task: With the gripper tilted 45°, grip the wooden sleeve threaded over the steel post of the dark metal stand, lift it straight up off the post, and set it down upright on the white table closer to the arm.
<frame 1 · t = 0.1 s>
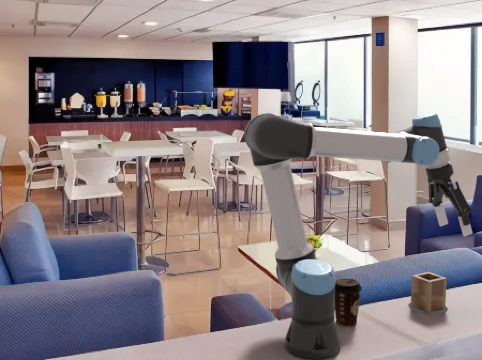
hand: (455, 229, 182), 28 cm above the worktop, tool tilted 20°, fingers open, 13 cm apart
coffee cup: (346, 323, 182), on the worktop
sleeve: (427, 307, 190), point 1 cm above the worktop, touching post stand
post stand: (427, 311, 190), on the worktop
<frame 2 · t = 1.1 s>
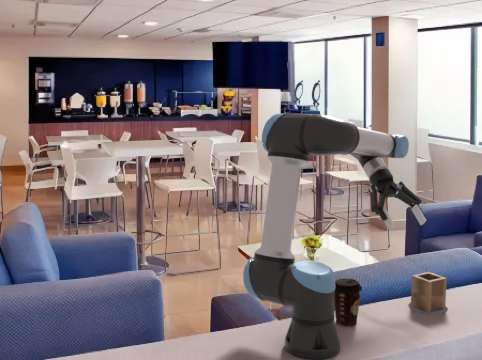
hand: (408, 225, 195), 26 cm above the worktop, tool tilted 45°, fingers open, 13 cm apart
nothing on the worktop moved.
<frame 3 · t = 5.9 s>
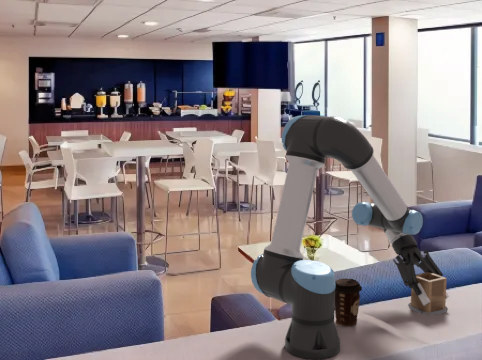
hand: (436, 301, 186), 5 cm above the worktop, tool tilted 45°, fingers closed on sleeve, 7 cm apart
sleeve: (427, 307, 190), point 2 cm above the worktop, touching gripper, post stand
everything else where it was.
when the fingers open (5 cm above the worktop, at t = 14.7 s): sleeve drops 2 cm, on the worktop.
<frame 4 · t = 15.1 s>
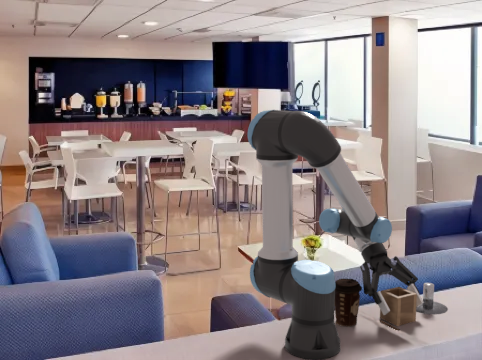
hand: (404, 308, 178), 6 cm above the worktop, tool tilted 45°, fingers open, 13 cm apart
sleeve: (397, 324, 181), on the worktop
everything else where it was.
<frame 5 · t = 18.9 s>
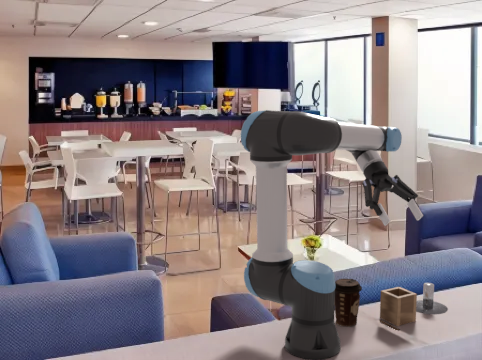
hand: (404, 220, 185), 30 cm above the worktop, tool tilted 45°, fingers open, 13 cm apart
nothing on the worktop moved.
at the end: sleeve inside the target area (0.0 cm from its centre), on the worktop; sleeve tilted 0°; the gripper is holding nothing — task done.
